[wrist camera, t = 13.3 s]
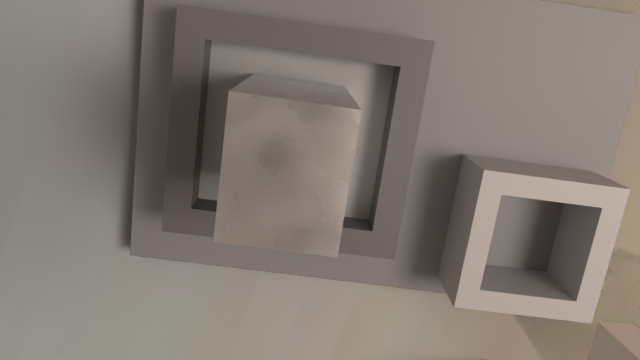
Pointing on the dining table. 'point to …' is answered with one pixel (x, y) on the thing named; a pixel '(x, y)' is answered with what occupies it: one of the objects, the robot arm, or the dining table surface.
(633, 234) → the dining table surface
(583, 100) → the stand
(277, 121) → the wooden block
